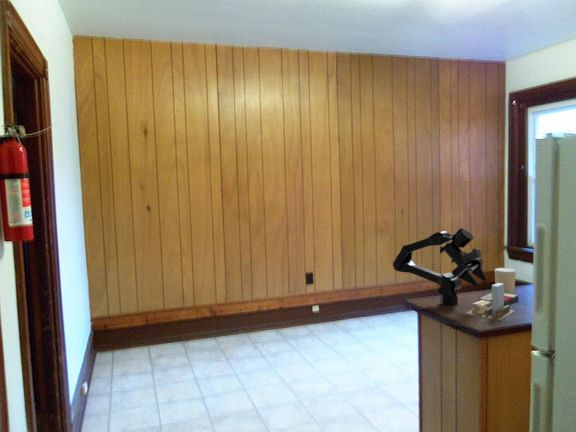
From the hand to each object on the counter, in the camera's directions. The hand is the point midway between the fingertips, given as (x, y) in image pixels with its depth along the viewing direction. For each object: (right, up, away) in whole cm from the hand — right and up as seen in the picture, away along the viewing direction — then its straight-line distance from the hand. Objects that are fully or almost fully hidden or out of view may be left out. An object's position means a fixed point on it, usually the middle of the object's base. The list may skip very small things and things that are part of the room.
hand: (481, 283), depth 193 cm
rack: (+3, -13, -1) cm, 13 cm away
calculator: (+13, -12, +13) cm, 22 cm away
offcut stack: (+1, -12, +1) cm, 12 cm away
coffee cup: (+23, -10, +28) cm, 38 cm away
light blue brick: (+5, -12, -4) cm, 13 cm away
